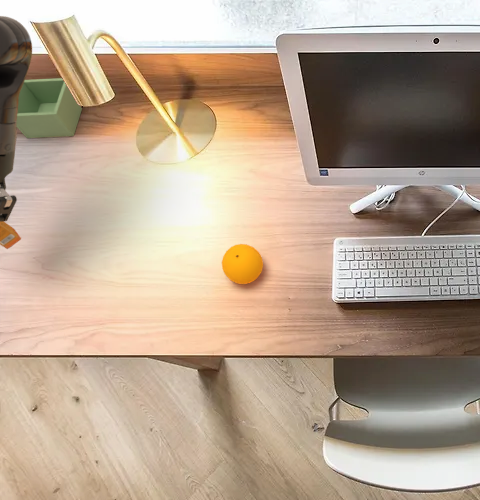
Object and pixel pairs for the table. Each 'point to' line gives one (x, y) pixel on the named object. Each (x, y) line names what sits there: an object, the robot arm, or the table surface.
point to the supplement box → (8, 235)
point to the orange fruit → (242, 263)
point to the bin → (47, 109)
